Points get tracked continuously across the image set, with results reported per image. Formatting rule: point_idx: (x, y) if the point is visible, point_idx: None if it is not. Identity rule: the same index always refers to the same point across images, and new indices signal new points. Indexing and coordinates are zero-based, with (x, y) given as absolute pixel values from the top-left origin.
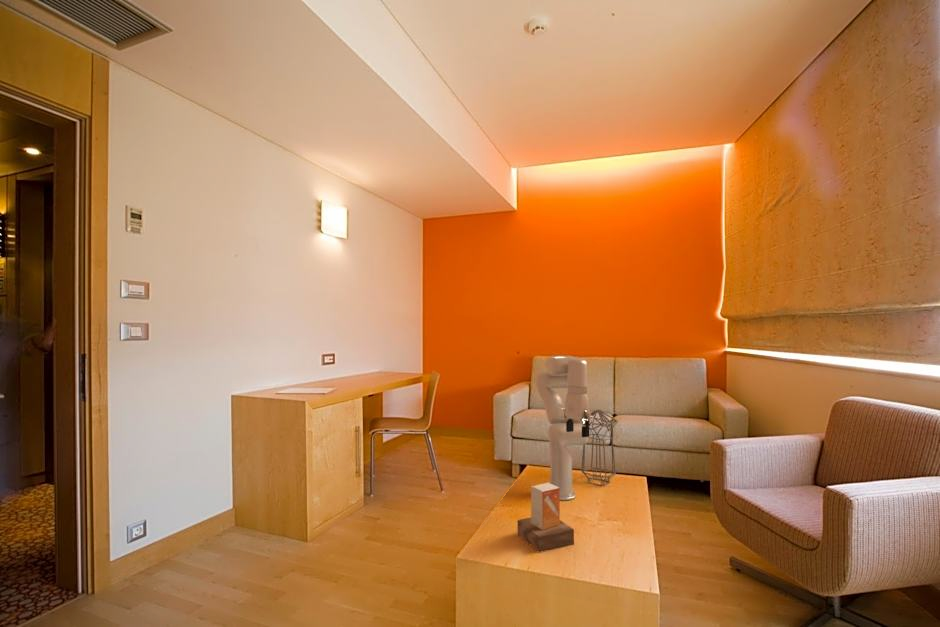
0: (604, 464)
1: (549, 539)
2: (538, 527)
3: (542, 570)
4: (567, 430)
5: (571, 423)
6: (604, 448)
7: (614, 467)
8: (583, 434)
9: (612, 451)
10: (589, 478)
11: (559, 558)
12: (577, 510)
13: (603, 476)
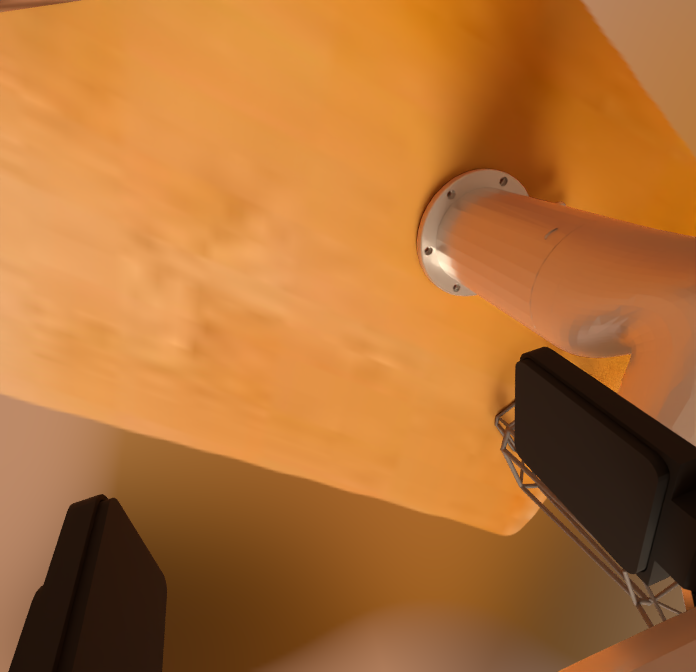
0: (537, 478)
1: None
2: None
3: None
4: (532, 367)
5: (617, 522)
6: (590, 534)
7: (536, 501)
8: (67, 555)
9: (593, 546)
10: None
11: None
12: (312, 237)
13: (506, 442)
